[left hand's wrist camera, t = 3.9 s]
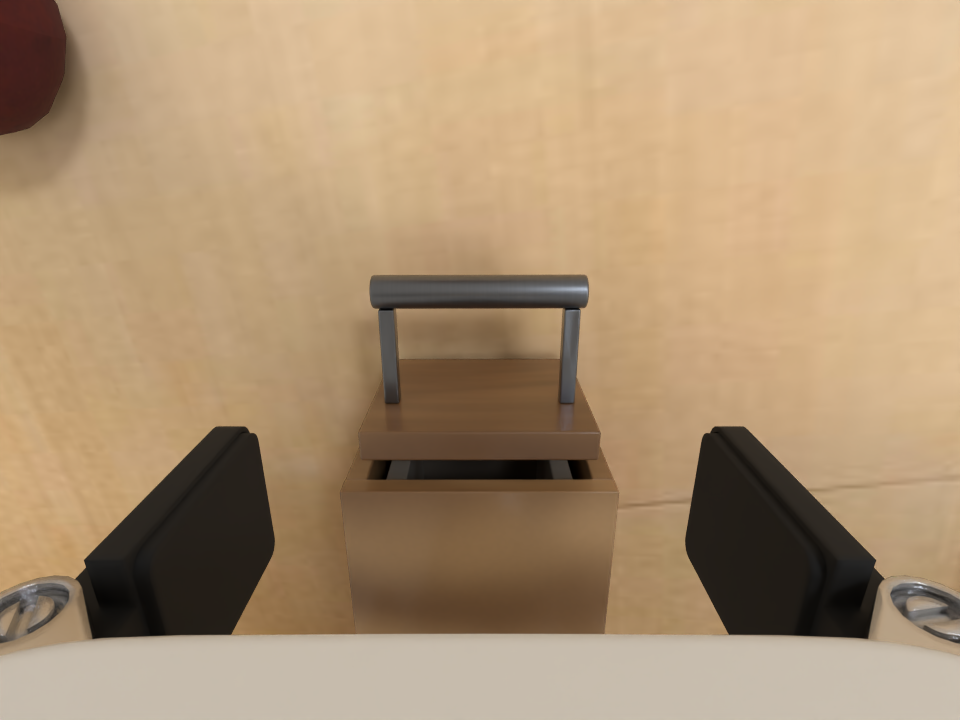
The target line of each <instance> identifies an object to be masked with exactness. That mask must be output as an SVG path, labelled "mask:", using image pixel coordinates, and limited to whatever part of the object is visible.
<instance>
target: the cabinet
mask: <svg viewBox="0 0 960 720" xmlns="http://www.w3.org/2000/svg"><path fill="white" fill-rule="evenodd" d="M567 461H568V465H569V468H570V472H571V475H572V479H573V480H386V479H387V476H388V472H389V469H390V466H391V462H392V460H361V457H360V447H359V449H358V452H357V454H356V456H355V459H354V461H353V464H352V466H351V468H350V471H349V473H348V475H347V478H346V480H345V482H344V484H343V487H342V489H341V491H340V497H341V506H342V515H343V524H344V533H345V541H346V550H347V559H348V568H349V577H350V586H351V595H352V604H353V613H354V622H355V631H356V634H604V631H605V622H606V612H607V603H608V593H609V584H610V574H611V565H612V555H613V546H614V536H615V527H616V517H617V508H618V498H619V491H618V488H617V486H616V483H615V481H614V479H613V477H612V474H611V472H610V470H609V467H608V465H607V462H606V460H605V457H604V455H603V453H602V450H601V448H600V446H599V457H598V460H567Z"/></svg>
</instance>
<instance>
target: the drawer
mask: <svg viewBox="0 0 960 720" xmlns="http://www.w3.org/2000/svg"><path fill="white" fill-rule="evenodd" d="M588 297H589V283H588V278H587V276H586V275H374V276H372V277H371V280H370V301H371V305H372V307H373V308H375V309H379V310H378V317H379V331H380V345H381V358H382V372H383V379H382V381H381V384H380V386H379V388H378V390H377V393H376V395H375V397H374V399H373V401H372V404H371V406H370V408H369V410H368V413H367V415H366V417H365V419H364V422H363V424H362V426H361V428H360V430H359V433H358V435H359V446H360V457H361V460H392V462H391V466H390V469H389V472H388V476H387V479H386V480H573V479H572V475H571V472H570V468H569V465H568V461H567V460H598V457H599V446H600V435H601V433H600V430H599V428H598V426H597V423H596V421H595V419H594V417H593V414H592V412H591V410H590V407H589V405H588V403H587V400H586V398H585V396H584V394H583V391H582V389H581V387H580V384H579V382H578V380H577V378H576V373H577V358H578V343H579V328H580V313H581V311H580V309H579V308H585V307H586V306H587V303H588ZM427 308H563V313H562V332H561V350H560V359H399V352H398V336H397V319H396V309H427Z"/></svg>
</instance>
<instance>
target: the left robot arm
mask: <svg viewBox="0 0 960 720" xmlns="http://www.w3.org/2000/svg"><path fill="white" fill-rule="evenodd" d="M274 545H275V538H274V532H273V526H272V520H271V514H270V508H269V502H268V496H267V490H266V484H265V478H264V472H263V466H262V460H261V454H260V448H259V442H258V438H257V436H256V434H254V433H250V432H249V430H248V429H247V428H246V427H215V428H214V429H213V430H212V431H211V432H210V433H209V434H208V435H207V436H206V437H205V438H204V439H203V440H202V441H201V442H200V443H199V444H198V445H197V446H196V447H195V448H194V449H193V450H192V451H191V452H190V453H189V454H188V455H187V456H186V457H185V458H184V459H183V460H182V461H181V462H180V463H179V464H178V465H177V466H176V467H175V468H174V469H173V470H172V471H171V472H170V473H169V474H168V475H167V476H166V477H165V478H164V479H163V480H162V481H161V482H160V483H159V484H158V485H157V486H156V487H155V488H154V490H153V491H152V492H151V493H150V494H149V495H148V496H147V497H146V498H145V499H144V500H143V501H142V502H141V503H140V504H139V505H138V506H137V507H136V508H135V509H134V510H133V511H132V512H131V513H130V514H129V515H128V516H127V517H126V518H125V519H124V520H123V521H122V522H121V523H120V524H119V525H118V526H117V527H116V528H115V529H114V530H113V531H112V532H111V533H110V534H109V535H108V536H107V537H106V538H105V539H104V540H103V541H102V542H101V543H100V544H99V545H98V546H97V547H96V548H95V549H94V550H93V551H92V553H91V554H90V555H89V556H88V557H87V558H86V559H85V560H84V562H85V565H86V568H85V569H84V570H83V571H82V573H81V574H80V575H79V576H78V577H77V578H76V579H73V578H71V577H68V576H49V577H42V578H37V579H34V580H30V581H27V582H24V583H20V584H18V585H16V586H14V587H11V588H9V589H7V590H5V591H3V592H1V593H0V720H960V593H959V592H957V591H955V590H953V589H951V588H949V587H946V586H944V585H942V584H940V583H936V582H933V581H930V580H926V579H923V578H918V577H911V576H892V577H889V578H887V579H884V578H883V577H882V576H881V575H880V574H879V573H878V571H877V570H876V569H875V568H874V565H875V562H876V560H875V559H874V558H873V557H872V556H871V555H870V554H869V553H868V551H867V550H866V549H865V548H864V547H863V546H862V545H861V544H860V543H859V542H858V541H857V540H856V539H855V538H854V537H853V536H852V535H851V534H850V533H849V532H848V531H847V530H846V529H845V528H844V527H843V526H842V525H841V524H840V523H839V522H838V521H837V520H836V519H835V518H834V517H833V516H832V515H831V514H830V513H829V512H828V511H827V510H826V509H825V508H824V507H823V506H822V505H821V504H820V503H819V502H818V501H817V500H816V499H815V498H814V497H813V496H812V495H811V494H810V493H809V492H808V491H807V490H806V488H805V487H804V486H803V485H802V484H801V483H800V482H799V481H798V480H797V479H796V478H795V477H794V476H793V475H792V474H791V473H790V472H789V471H788V470H787V469H786V468H785V467H784V466H783V465H782V464H781V463H780V462H779V461H778V460H777V459H776V458H775V457H774V456H773V455H772V454H771V453H770V452H769V451H768V450H767V449H766V448H765V447H764V446H763V445H762V444H761V443H760V442H759V441H758V440H757V439H756V438H755V437H754V436H753V435H752V434H751V433H750V432H749V431H748V430H747V429H746V428H745V427H714V428H713V429H712V430H711V432H710V433H706V434H704V436H703V438H702V442H701V448H700V454H699V460H698V466H697V472H696V478H695V484H694V490H693V496H692V502H691V508H690V514H689V520H688V526H687V532H686V538H685V545H686V551H687V555H688V557H689V559H690V561H691V563H692V565H693V567H694V569H695V571H696V572H697V574H698V576H699V578H700V580H701V582H702V584H703V586H704V588H705V590H706V592H707V594H708V595H709V597H710V599H711V601H712V603H713V605H714V607H715V609H716V611H717V613H718V615H719V617H720V618H721V620H722V622H723V624H724V626H725V628H726V630H727V632H728V634H729V635H680V634H291V635H231V634H232V632H233V630H234V628H235V626H236V624H237V622H238V620H239V618H240V617H241V615H242V613H243V611H244V609H245V607H246V605H247V603H248V601H249V599H250V597H251V595H252V594H253V592H254V590H255V588H256V586H257V584H258V582H259V580H260V578H261V576H262V574H263V572H264V571H265V569H266V567H267V565H268V563H269V561H270V559H271V557H272V555H273V551H274Z"/></svg>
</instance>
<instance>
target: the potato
mask: <svg viewBox="0 0 960 720" xmlns="http://www.w3.org/2000/svg"><path fill="white" fill-rule="evenodd" d="M65 50H66V35H65V31H64V27H63V24H62V20H61V16H60V13H59V9H58V5H57V4H56V2H55V1H54V0H0V135H3V134H8V133H14V132H17V131H21V130H24V129H27V128H30V127H31V126H32V125H34V124H35V123H36V122H37V121H39V120H40V119H41V118H43V117H44V116H45V115H46V114H48V113H49V111H50V108H51V106H52V104H53V101H54V99H55V96H56V94H57V92H58V89H59V87H60V84H61V82H62V79H63V76H64V70H65Z"/></svg>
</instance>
